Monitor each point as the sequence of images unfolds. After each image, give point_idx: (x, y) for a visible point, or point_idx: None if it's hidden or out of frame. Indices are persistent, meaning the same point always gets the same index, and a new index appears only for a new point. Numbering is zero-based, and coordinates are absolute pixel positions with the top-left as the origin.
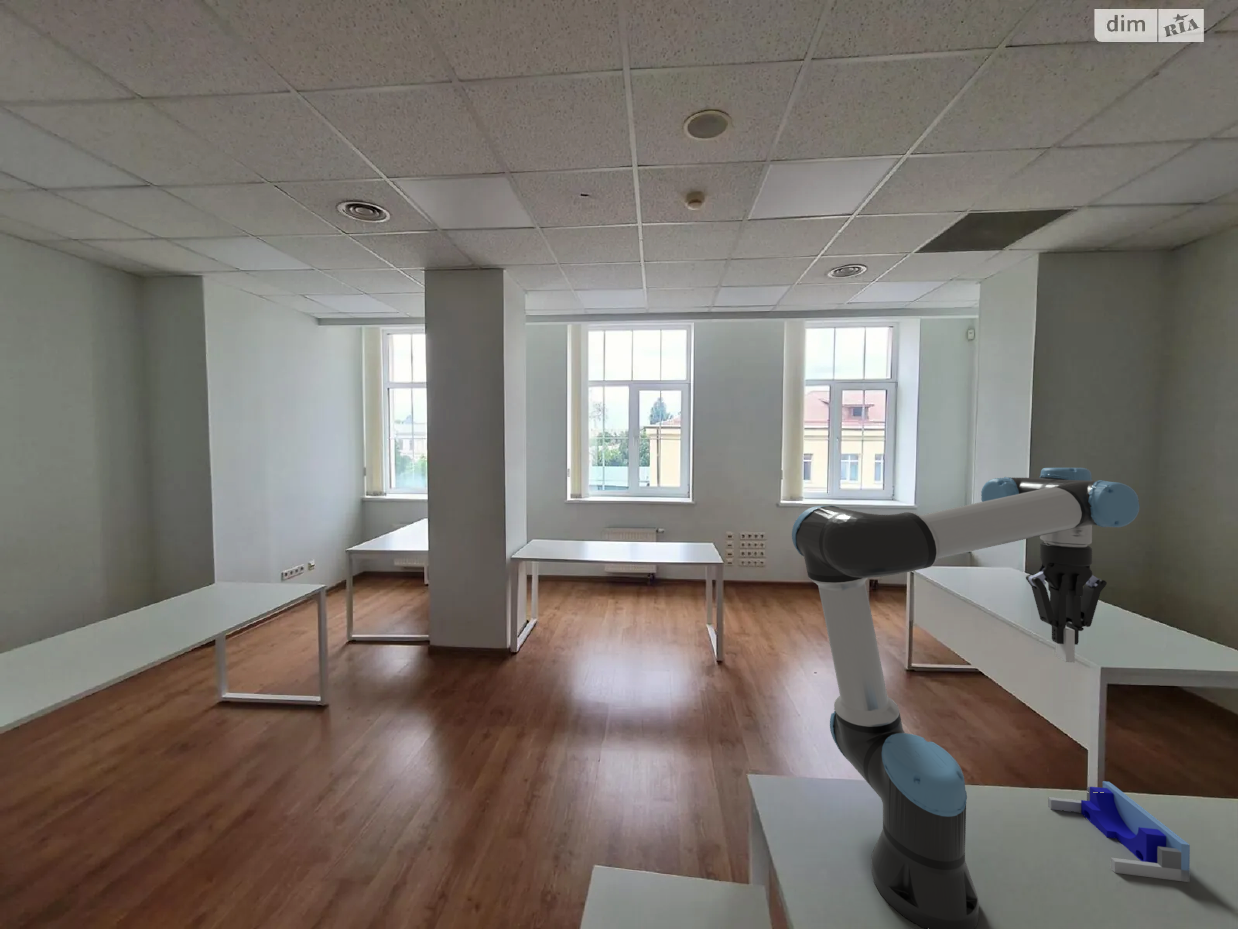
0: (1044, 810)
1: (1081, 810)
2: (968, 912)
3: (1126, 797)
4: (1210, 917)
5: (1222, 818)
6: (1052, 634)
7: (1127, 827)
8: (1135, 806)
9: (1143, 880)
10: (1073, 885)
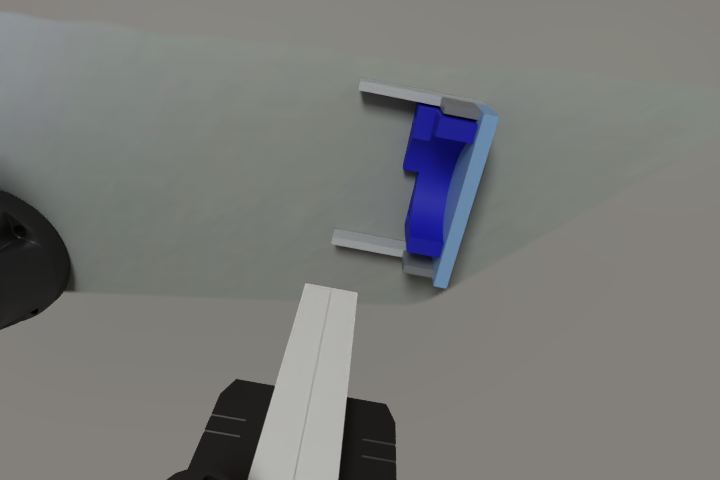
0: (342, 88)
1: (418, 102)
2: (26, 317)
3: (475, 171)
4: (396, 302)
5: None
6: (203, 437)
7: (453, 166)
8: (462, 197)
9: None
10: (242, 252)
